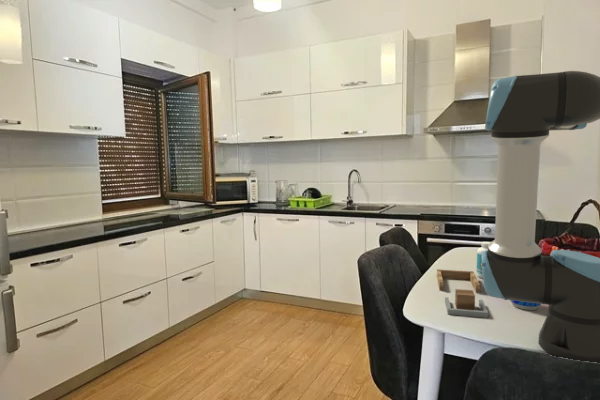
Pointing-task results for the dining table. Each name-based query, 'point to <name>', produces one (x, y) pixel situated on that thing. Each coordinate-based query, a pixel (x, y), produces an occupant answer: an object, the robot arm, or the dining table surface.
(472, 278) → the brown u-shaped frame
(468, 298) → the cube
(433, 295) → the dining table surface
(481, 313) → the grey u-shaped bracket
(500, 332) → the dining table surface
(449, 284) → the dining table surface
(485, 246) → the pill bottle
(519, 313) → the dining table surface
